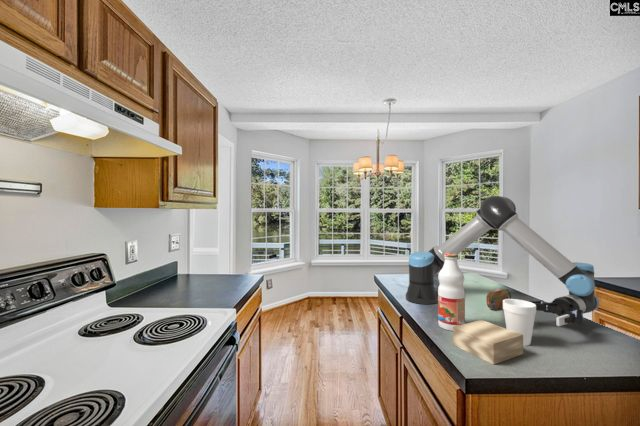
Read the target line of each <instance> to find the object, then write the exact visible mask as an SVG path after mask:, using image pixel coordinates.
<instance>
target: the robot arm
mask: <svg viewBox="0 0 640 426" xmlns="http://www.w3.org/2000/svg"><path fill="white" fill-rule="evenodd" d="M490 230H498V231H503V232H504V233H505V234H506V235H507V236H509V238H511V239H512V240H513V241H514V242H516V244H518V245H519V246H520V247H521V248H522V249H523V250H524V251H526V252H527V253H528V254H529V255H530V256H532V258H534V259H535V260H536V261H537V262H538V263H540V264H541V265H542V266H543V267H545V269H547V270H548V271H549V272H550V273H551V274H553V276H554V277H556V278H557V279H558V280H559V281H560V282H561V283H562V284H564V286H565V287H566V289H567V290H568V295H563V296H559V297H556V298H554V299H553V300H552V301H550V302H546V301H544V300H542V299H541V300H540V299H539V300H527V301H528V302H532V303H534V304H536V311H539V312H540V311H542V312H544V313H550V314H551V313H552V314H553V315H554V314H556V315H557V317H556V318H555V319H556V321H555V322H556V324H555V325H556V326H557V327H561V326H565V325H567V324H576V323H577V324H578V325H580V326H583V325H584V324H583V322H584V320H583V319H584V314H587V313H592V312H593V311H595V310H597V309H598V308H599V305H600V301H599V298H598V297H597V296H596V295H595V288H596V287H595V286H596V283H595V267H594V265H593V264H591V263H587V262H586V263H585V262H578V261H576V262H575V261H574V262H572V261H571V260H570V259H568V258H567V256H565V255H564V254H563V253H561V252H560V251H559V250H558V249H557V248H555V247H554V246H553V245H552V244H550V243H549V242H548V241H547V240H546V239H544V238H543V237H542V236H540V235H539V234H538V233H537V232H536V231H535V230H534V229H532V228H531V227H530V226H529V225H527V224H526V223H525V222H523V220H521V218H519V213H517V208H516V204H515V203H514V202H513V200H512V199H510V198H509V197H507V196H498V195H492V196H489V197H487V198H486V199H484V200H483V201H482V202H481V204H480V208H479V209H478V210H476V211H475V216H473V218H472V219H470V220H469V221H468V222H467V223H466V224H464V225H463V226H462V227H461V228H460V229H459V230H458V231H456V232H455V233H454V234H452V235H451V236H450V237H448V238H447V240H445V241H444V242H443V243H441V244H440V245H435V246H433V247H432V248H431V249H429V250H428V251H425V250H423V251H414V252H411V253H410V254H409V256H408V279H409V280H408V287H407V291H406V293H405V300H406V301H408V302H409V303H414V304H416V305H417V304H419V305H433V304H438V294H437V291H436V288H435V284H434V283H435V281H434V279H435V277H434V276H435V275H438V274H439V272H440V270H441V269H442V268H443V265H444V262H445V258H444V253H455V254H458V255H459V254H460V253H461V252H463V251H464V250H465V249H467V248H468V247H469V246H471V245H472V244H473V243H474V242H476V241H477V240H479V238H480V237H482V236H483V235H485V234H486V233H487V232H488V231H490Z"/></svg>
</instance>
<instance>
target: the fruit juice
mask: <svg viewBox="0 0 640 426" xmlns="http://www.w3.org/2000/svg"><path fill="white" fill-rule="evenodd" d="M458 257H459V254H455V253H444V258H445V262H444V265H443V268H442V269H441V270H440V272H439V273H438V274H437V275H438V277H437V278H438V282H439V285H438V288H437V296H438V302H437V317H438V318H437V320H438V321H437V323H438V326H439V327H440V328H441V329H443V330H446V331H452V332H453V327H454V326H458V325H462V324H466V299H465V298H466V293H465V288H464V283H465V275H464V273H463V271H462V270H461V269H460V266H459V264H458Z"/></svg>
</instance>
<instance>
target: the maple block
mask: <svg viewBox="0 0 640 426" xmlns="http://www.w3.org/2000/svg"><path fill="white" fill-rule="evenodd" d="M452 344H453V346H455V347H457V348H459V349H461V350H463V351H465V352H467V353H469V354H471V355H473V356H475V357H477V358H480V359H481V360H483V361H485V362H487V363H490V364H492V365H496V364H499V363H502V362H505V361H508V360H510V359H513V358H516V357H519V356H522V355H524V346H523V334H520V333H517V332H514V331H511V330H509V329H506V328H505V327H503V326H499V325H497V324H494V323H492V322H489V321H485V320H483V319H480V320H476V321H471V322H470V321H469V322H468V323H467V322H465V324H462V325H458V326H454V327H453V331H452Z"/></svg>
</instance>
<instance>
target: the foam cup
mask: <svg viewBox="0 0 640 426" xmlns="http://www.w3.org/2000/svg"><path fill="white" fill-rule="evenodd" d="M528 301H529V300H524V299H517V298H511V299H505V300H503V309H502V310H503V312H504V313H503V314H504V321H505V327H506V329H509V330H511V331H514V332H517V333H520V334H523V347H525V346H526V347H527V346H530V345H531V342H532V336H533V330H534V324H535V317H536V314H537V310H536V304H534V303H532V302H528Z"/></svg>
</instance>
